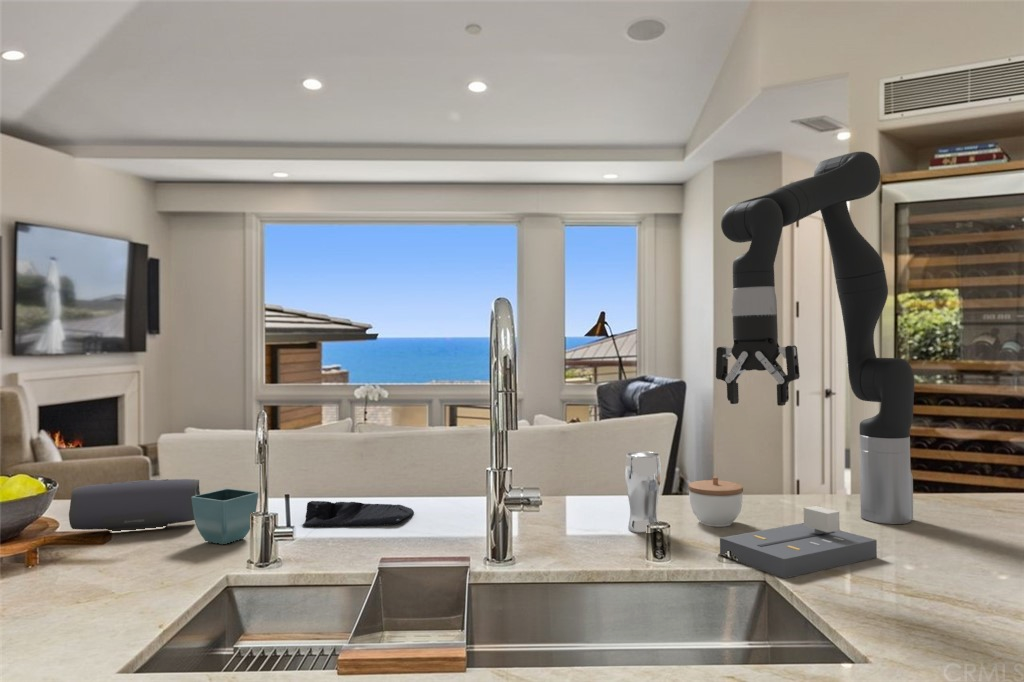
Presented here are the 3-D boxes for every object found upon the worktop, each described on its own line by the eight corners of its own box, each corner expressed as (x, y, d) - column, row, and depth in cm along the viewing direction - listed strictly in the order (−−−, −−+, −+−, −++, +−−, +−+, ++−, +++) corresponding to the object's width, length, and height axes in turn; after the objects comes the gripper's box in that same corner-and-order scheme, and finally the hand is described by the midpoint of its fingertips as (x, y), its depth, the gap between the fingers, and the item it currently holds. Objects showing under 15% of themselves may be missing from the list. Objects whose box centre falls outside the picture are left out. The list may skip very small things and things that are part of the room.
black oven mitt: (400, 531, 144) (399, 508, 144) (295, 529, 146) (295, 506, 146) (418, 513, 159) (418, 492, 159) (324, 511, 162) (323, 491, 162)
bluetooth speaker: (201, 519, 154) (200, 473, 154) (196, 530, 145) (195, 481, 145) (81, 529, 147) (80, 480, 147) (68, 541, 138) (67, 489, 138)
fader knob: (815, 528, 128) (815, 505, 128) (839, 534, 124) (839, 511, 124) (803, 530, 127) (803, 507, 127) (827, 537, 122) (827, 513, 122)
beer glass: (661, 535, 137) (660, 457, 137) (625, 533, 138) (624, 456, 138) (661, 526, 144) (660, 451, 144) (626, 524, 145) (625, 450, 145)
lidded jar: (685, 527, 143) (684, 480, 143) (692, 514, 153) (692, 471, 153) (741, 531, 139) (740, 483, 139) (745, 519, 149) (744, 474, 149)
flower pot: (260, 537, 139) (259, 491, 139) (224, 549, 131) (224, 500, 131) (226, 532, 143) (226, 488, 143) (190, 544, 135) (189, 496, 135)
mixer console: (808, 538, 134) (808, 521, 134) (876, 557, 121) (876, 539, 121) (720, 555, 124) (719, 537, 124) (784, 578, 111) (784, 558, 111)
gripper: (802, 311, 125) (805, 404, 125) (725, 315, 134) (727, 401, 135) (787, 311, 119) (790, 408, 120) (707, 315, 129) (710, 405, 129)
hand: (757, 404), depth 127 cm, fingers open, 8 cm apart
